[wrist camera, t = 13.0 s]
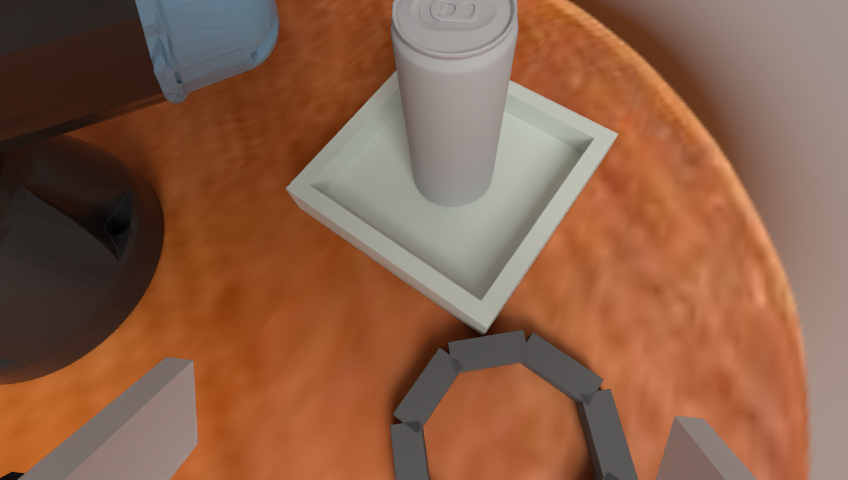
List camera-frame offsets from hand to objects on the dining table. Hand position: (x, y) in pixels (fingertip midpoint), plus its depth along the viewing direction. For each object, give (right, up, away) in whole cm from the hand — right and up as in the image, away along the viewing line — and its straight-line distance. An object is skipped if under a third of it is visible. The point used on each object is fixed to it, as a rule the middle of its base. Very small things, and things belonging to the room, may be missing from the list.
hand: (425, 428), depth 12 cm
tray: (+2, +9, +16) cm, 18 cm away
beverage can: (+2, +9, +15) cm, 18 cm away
